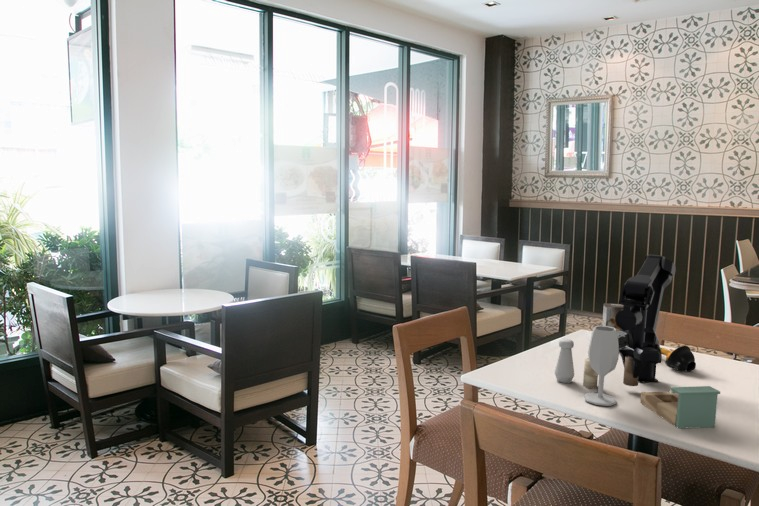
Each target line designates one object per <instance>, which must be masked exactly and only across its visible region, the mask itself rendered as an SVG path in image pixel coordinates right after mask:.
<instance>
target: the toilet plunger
mask: <svg viewBox="0 0 759 506" xmlns="http://www.w3.org/2000/svg"><path fill="white" fill-rule="evenodd" d="M660 349H661V354H662V355H664V356H666V357H665V365H666V366H667V367H669V368H670V369H674V370H676V371H679V372H687V373H691V372H693V371H694V370H695V369H696V366H697V364H696V363H697V362H696V358H695V356H694V353H693V352H692V350H691V348H690V347H689V346H688V345H681V346H679V347H676V349H672V348H669V349H666V348H665V347H664V348H663V347H660Z"/></svg>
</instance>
